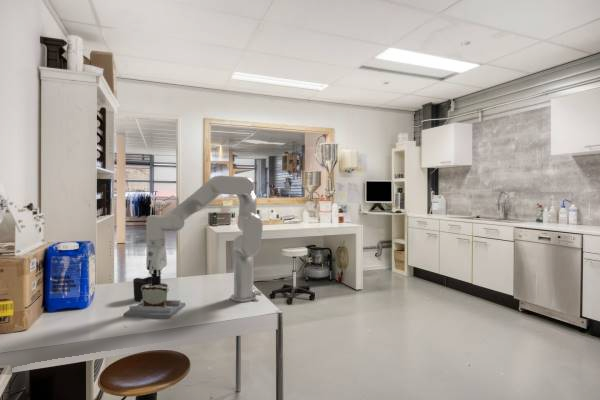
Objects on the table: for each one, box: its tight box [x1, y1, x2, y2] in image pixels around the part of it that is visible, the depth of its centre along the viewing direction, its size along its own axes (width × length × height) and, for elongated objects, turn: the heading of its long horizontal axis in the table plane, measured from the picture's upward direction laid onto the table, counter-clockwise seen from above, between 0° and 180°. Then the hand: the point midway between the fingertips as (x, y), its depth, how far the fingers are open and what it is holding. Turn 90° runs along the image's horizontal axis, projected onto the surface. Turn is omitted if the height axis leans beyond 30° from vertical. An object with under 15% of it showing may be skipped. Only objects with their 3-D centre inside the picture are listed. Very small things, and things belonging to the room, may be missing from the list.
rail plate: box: [123, 299, 186, 319], centre depth 151 cm, size 20×16×4 cm
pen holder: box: [132, 276, 152, 303], centre depth 168 cm, size 9×9×10 cm
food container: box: [141, 282, 170, 307], centre depth 152 cm, size 12×6×10 cm, turn 84°
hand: (156, 284), depth 151 cm, fingers closed
